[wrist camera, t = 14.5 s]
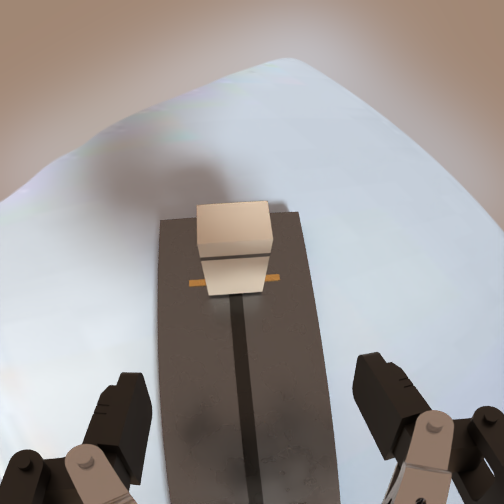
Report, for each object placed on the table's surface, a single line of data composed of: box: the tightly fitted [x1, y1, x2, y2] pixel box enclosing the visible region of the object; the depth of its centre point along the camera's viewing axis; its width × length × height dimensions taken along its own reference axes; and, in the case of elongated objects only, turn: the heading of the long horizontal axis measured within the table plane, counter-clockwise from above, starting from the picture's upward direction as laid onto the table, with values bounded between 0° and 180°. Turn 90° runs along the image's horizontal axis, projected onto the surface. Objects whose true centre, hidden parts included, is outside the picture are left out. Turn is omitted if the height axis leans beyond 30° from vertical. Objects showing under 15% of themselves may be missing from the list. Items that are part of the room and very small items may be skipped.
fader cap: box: [197, 201, 273, 295], centre depth 21 cm, size 2×4×8 cm, turn 96°
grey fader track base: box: [158, 212, 341, 504], centre depth 22 cm, size 30×12×2 cm, turn 5°
